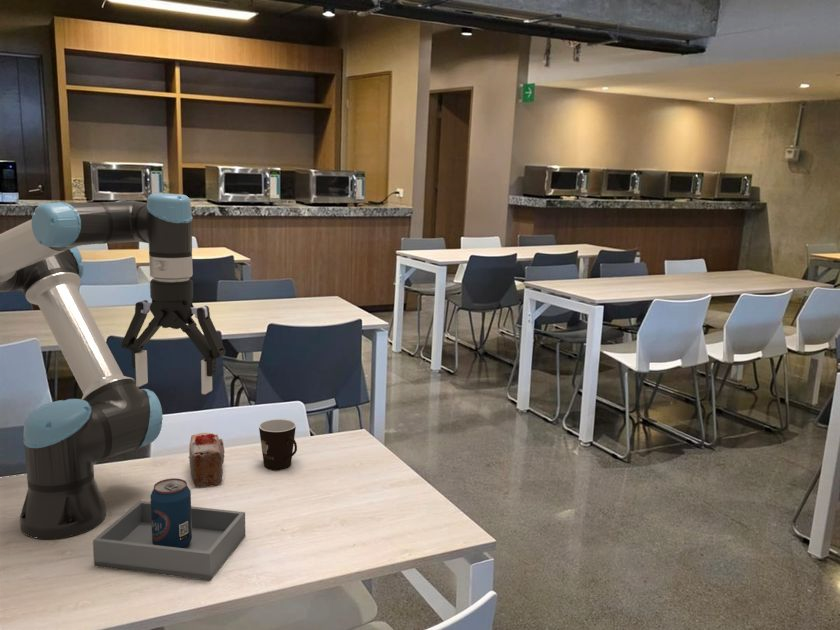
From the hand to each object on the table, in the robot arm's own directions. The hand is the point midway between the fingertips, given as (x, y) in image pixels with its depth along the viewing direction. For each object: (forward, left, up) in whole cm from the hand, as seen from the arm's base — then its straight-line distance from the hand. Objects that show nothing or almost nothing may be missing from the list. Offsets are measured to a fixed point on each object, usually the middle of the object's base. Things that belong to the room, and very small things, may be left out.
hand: (174, 388), depth 137 cm
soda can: (+4, -10, -27) cm, 29 cm away
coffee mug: (+10, +30, -28) cm, 42 cm away
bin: (+4, -10, -28) cm, 30 cm away
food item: (-4, +22, -28) cm, 36 cm away
